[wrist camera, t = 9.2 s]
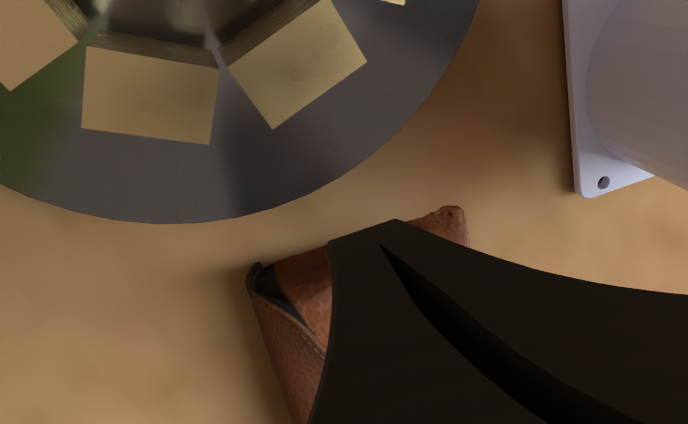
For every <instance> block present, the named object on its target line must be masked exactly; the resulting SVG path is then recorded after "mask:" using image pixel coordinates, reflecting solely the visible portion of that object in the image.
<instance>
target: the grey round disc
mask: <svg viewBox="0 0 688 424" xmlns="http://www.w3.org/2000/svg"><path fill="white" fill-rule="evenodd" d="M73 1H74V2H75V4H76V5H77V6H78V7H79V8H80V10H81V11H82V12H83V13H84V14H85V16H86V17H87V18H88V19H89V21H90V22H91V23H92V24H93V25H94V26H93V27H92V28H91V29H90V30H89V31H88V33H87V34H86V35H85V36H84V37H83V38H82V39H81V40H80V41H79V42H78V43H76V44H75V45H74V46H72V47H71V48H70V49H68V50H67V51H65V52H64V53H63V54H61V55H60V56H58V57H57V58H56V59H54V60H53V61H51V62H50V63H49V64H47V65H46V66H45V67H43V68H42V69H40V70H39V71H38V72H36V73H35V74H33V75H32V76H31V77H29V78H28V79H26V80H25V81H24V82H22V83H21V84H20V85H18V86H17V87H15V88H14V89H13V90H11V91H9V90H8V89H7V88H6V87H5V86H4V85H3V84H2V83H1V82H0V184H2V185H4V186H6V187H9V188H11V189H13V190H15V191H17V192H20V193H22V194H24V195H26V196H28V197H31V198H34V199H37V200H40V201H43V202H46V203H49V204H52V205H55V206H59V207H62V208H65V209H68V210H71V211H74V212H79V213H84V214H89V215H94V216H98V217H103V218H108V219H113V220H120V221H131V222H142V223H152V224H178V223H202V222H209V221H216V220H223V219H230V218H237V217H241V216H245V215H248V214H252V213H256V212H260V211H264V210H267V209H271V208H275V207H277V206H280V205H282V204H285V203H287V202H290V201H292V200H295V199H297V198H300V197H302V196H305V195H307V194H310V193H311V192H313V191H315V190H317V189H319V188H321V187H323V186H324V185H326V184H328V183H330V182H332V181H334V180H335V179H337V178H339V177H341V176H343V175H344V174H345V173H347V172H348V171H350V170H351V169H352V168H354V167H355V166H357V165H358V164H359V163H361V162H362V161H364V160H365V159H367V158H368V157H369V156H371V155H372V154H373V153H374V152H375V151H377V150H378V149H379V148H380V147H381V146H382V145H383V144H384V143H385V142H387V141H388V140H389V139H390V138H391V137H392V136H393V135H394V134H395V133H397V132H398V131H399V130H400V129H401V128H402V126H403V125H404V124H405V123H406V122H407V121H408V120H409V119H410V117H411V116H412V115H413V114H414V113H415V112H416V111H417V109H418V108H419V107H420V106H421V105H422V104H423V103H424V101H425V100H426V99H427V97H428V96H429V94H430V93H431V91H432V90H433V89H434V87H435V86H436V84H437V83H438V81H439V80H440V78H441V77H442V76H443V74H444V73H445V71H446V70H447V68H448V66H449V64H450V63H451V61H452V59H453V57H454V55H455V53H456V51H457V50H458V48H459V46H460V44H461V42H462V40H463V38H464V36H465V35H466V33H467V30H468V28H469V25H470V23H471V20H472V18H473V15H474V13H475V10H476V8H477V5H478V3H479V0H405V4H404V5H400V4H395V3H391V2H387V1H382V0H331V2H332V4H333V5H334V7H335V9H336V10H337V12H338V14H339V15H340V17H341V19H342V20H343V22H344V24H345V25H346V27H347V29H348V30H349V32H350V34H351V35H352V37H353V39H354V40H355V42H356V44H357V45H358V47H359V49H360V50H361V52H362V54H363V55H364V57H365V59H366V60H367V62H366V63H365V64H364V65H362V66H361V67H359V68H358V69H357V70H355V71H354V72H352V73H351V74H350V75H348V76H347V77H345V78H344V79H343V80H341V81H340V82H338V83H337V84H336V85H334V86H333V87H331V88H330V89H329V90H327V91H326V92H324V93H323V94H322V95H320V96H319V97H317V98H316V99H315V100H313V101H312V102H310V103H309V104H308V105H306V106H305V107H303V108H302V109H301V110H299V111H298V112H296V113H295V114H294V115H292V116H291V117H289V118H288V119H287V120H285V121H284V122H282V123H281V124H280V125H278V126H277V127H275V128H274V129H273V130H272V128H271V127H270V126H269V124H268V123H267V121H266V120H265V119H264V117H263V116H262V115H261V113H260V112H259V111H258V109H257V108H256V106H255V105H254V104H253V102H252V101H251V100H250V98H249V97H248V96H247V94H246V93H245V91H244V90H243V89H242V87H241V86H240V85H239V83H238V82H237V81H236V79H235V78H234V76H233V75H232V74H231V72H230V71H229V70H228V68H227V67H226V65H225V63H224V61H223V59H222V57H221V55H220V53H219V51H218V49H217V48H218V47H220V46H221V45H223V44H224V43H225V42H227V41H228V40H230V39H231V38H232V37H234V36H235V35H237V34H238V33H239V32H241V31H242V30H243V29H245V28H246V27H248V26H249V25H250V24H252V23H253V22H255V21H256V20H257V19H259V18H260V17H262V16H263V15H264V14H266V13H267V12H269V11H270V10H271V9H273V8H274V7H276V6H277V5H278V4H280V3H281V2H283V1H284V0H73ZM100 29H101V30H106V31H112V32H117V33H123V34H128V35H134V36H139V37H145V38H150V39H156V40H161V41H167V42H172V43H178V44H183V45H189V46H194V47H200V48H205V49H211V50H212V53H213V55H214V57H215V60H216V62H217V64H218V66H219V69H220V71H219V78H218V85H217V92H216V99H215V106H214V113H213V120H212V127H211V134H210V141H209V145H205V144H198V143H190V142H182V141H175V140H167V139H160V138H152V137H145V136H137V135H130V134H122V133H114V132H107V131H99V130H92V129H84V128H81V121H82V106H83V92H84V77H85V62H86V47H87V45H88V44H89V43H90V41H91V40H92V39H93V38H94V36H95V35H96V34H97V33H98V31H99V30H100Z"/></svg>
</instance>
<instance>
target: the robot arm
mask: <svg viewBox="0 0 688 424" xmlns="http://www.w3.org/2000/svg"><path fill="white" fill-rule="evenodd" d="M562 8H563V23H564V38H565V54H566V69H567V84H568V99H569V114H570V129H571V144H572V159H573V174H574V188H575V191H576V193H577V194H578V195H580V196H581V197H583V198H586V199H590V198H594V197H596V196H599V195H602V194H605V193H608V192H611V191H614V190H616V189H619V188H622V187H625V186H628V185H631V184H633V183H636V182H639V181H642V180H645V179H648V178H650V177H653V176H657V177H659V178H661V179H663V180H666V181H668V182H670V183H672V184H674V185H676V186H678V187H681V188H683V189H685V190H687V191H688V0H562ZM602 177H603V181H602V182H601V183H600V184H599V185H597V184H598V181H599V179H600V178H602ZM324 252H325V255H326V259H327V262H328V266H329V269H330V273H331V276H332V310H331V320H330V329H329V338H328V344H327V350H326V356H325V360H324V365H323V369H322V374H321V378H320V382H319V386H318V389H317V392H316V396H315V399H314V402H313V405H312V409H311V412H310V415H309V418H308V421H307V424H688V295H685V294H673V293H663V292H656V291H648V290H641V289H633V288H626V287H618V286H612V285H606V284H600V283H595V282H589V281H585V280H580V279H576V278H571V277H566V276H562V275H557V274H552V273H548V272H544V271H541V270H537V269H533V268H529V267H526V266H523V265H519V264H516V263H513V262H510V261H506V260H503V259H500V258H497V257H494V256H491V255H488V254H485V253H482V252H479V251H476V250H474V249H471V248H468V247H466V246H463V245H460V244H458V243H455V242H453V241H450V240H448V239H445V238H443V237H440V236H438V235H435V234H433V233H430V232H428V231H426V230H423V229H421V228H418V227H416V226H414V225H411V224H409V223H406V222H404V221H401V220H398V219H392V220H389V221H386V222H384V223H381V224H378V225H375V226H372V227H369V228H366V229H363V230H360V231H357V232H354V233H351V234H348V235H345V236H342V237H340V238H337V239H334V240H331V241H328V243H327V245H326V246H325V248H324Z"/></svg>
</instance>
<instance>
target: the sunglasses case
mask: <svg viewBox="0 0 688 424" xmlns="http://www.w3.org/2000/svg"><path fill="white" fill-rule="evenodd" d="M406 223H409V224H411V225H414V226H416V227H418V228H421V229H423V230H426V231H428V232H430V233H433V234H435V235H438V236H440V237H443V238H445V239H448V240H450V241H453V242H455V243H458V244H460V245H463V246H466V247H468V248H470V242H469V237H468V230H467V227H466V221H465V218H464V213H463V210H462V209H461V208H460V207H457V206H443V207H441V208H440V209H439V210H437V211H435V212H431V213H430V214H428V215H426V216H424V217H422V218H417V219H415V220H410V221H406ZM324 248H325V246H324V247H320V248H318V249H315V250H311V251H308V252H305V253H303V254H301V255H295V256H291V257H289V258H285V259H284V260H280V261H277V262H276V263H274V264H271V265H269V266H267V267H264V268H263V267H262V263H261V262H257V263H255V264H254V265H253V266H252V268H251V270H250V271H249V273H248V274H247V280H246V286H247V290H248V293H249V295H250V297H251V300H252V302H253V306H254V309H255V313H256V316H257V319H258V322H259V325H260V328H261V331H262V334H263V337H264V340H265V343H266V346H267V349H268V351H269V354H270V356H271V361H272V363H273V365H274V368H275V372H276V374H277V378H278V381H279V382H280V386H281V389H282V391H283V394H284V397H285V399H286V402H287V405H288V408H289V411H290V413H291V416H292V419H293V422H294V424H307V421H308V418H309V415H310V412H311V409H312V405H313V402H314V399H315V396H316V392H317V389H318V386H319V382H320V378H321V374H322V369H323V365H324V360H325V356H326V350H327V344H328V338H329V329H330V320H331V310H332V276H331V273H330V269H329V266H328V262H327V259H326V255H325V252H324Z"/></svg>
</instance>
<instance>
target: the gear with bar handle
mask: <svg viewBox="0 0 688 424" xmlns="http://www.w3.org/2000/svg"><path fill="white" fill-rule="evenodd" d="M382 1H387V2H391V3H395V4H400V5H404V4H405V0H382ZM93 26H94V25H93V24H92V23H91V22H90V21H89V19H88V18H87V17H86V16H85V14H84V13H83V12H82V11H81V10H80V8H79V7H78V6H77V5H76V4H75V2H74V1H73V0H0V82H1V83H2V84H3V85H4V86H5V87H6V88H7V89H8V90H9V91H11V90H13V89H14V88H15V87H17V86H18V85H20V84H21V83H22V82H24V81H25V80H26V79H28V78H29V77H31V76H32V75H33V74H35V73H36V72H38V71H39V70H40V69H42V68H43V67H45V66H46V65H47V64H49V63H50V62H51V61H53V60H54V59H56V58H57V57H58V56H60V55H61V54H63V53H64V52H65V51H67V50H68V49H70V48H71V47H72V46H74V45H75V44H76V43H78V42H79V41H80V40H81V39H82V38H83V37H84V36H85V35H86V34H87V33H88V31H89V30H90V29H91V28H92V27H93ZM217 49H218V51H219V53H220V55H221V57H222V59H223V61H224V63H225V65H226V67H227V68H228V70H229V71H230V72H231V74H232V75H233V76H234V78H235V79H236V81H237V82H238V83H239V85H240V86H241V87H242V89H243V90H244V91H245V93H246V94H247V96H248V97H249V98H250V100H251V101H252V102H253V104H254V105H255V106H256V108H257V109H258V111H259V112H260V113H261V115H262V116H263V117H264V119H265V120H266V121H267V123H268V124H269V126H270V127H271V128H272V130H273V129H274V128H275V127H277V126H278V125H280V124H281V123H282V122H284V121H285V120H287V119H288V118H289V117H291V116H292V115H294V114H295V113H296V112H298V111H299V110H301V109H302V108H303V107H305V106H306V105H308V104H309V103H310V102H312V101H313V100H315V99H316V98H317V97H319V96H320V95H322V94H323V93H324V92H326V91H327V90H329V89H330V88H331V87H333V86H334V85H336V84H337V83H338V82H340V81H341V80H343V79H344V78H345V77H347V76H348V75H350V74H351V73H352V72H354V71H355V70H357V69H358V68H359V67H361V66H362V65H364V64H365V63H366V62H367V60H366V59H365V57H364V55H363V54H362V52H361V50H360V49H359V47H358V45H357V44H356V42H355V40H354V39H353V37H352V35H351V34H350V32H349V30H348V29H347V27H346V25H345V24H344V22H343V20H342V19H341V17H340V15H339V14H338V12H337V10H336V9H335V7H334V5H333V4H332V2H331V0H284V1H283V2H281V3H280V4H278V5H277V6H276V7H274V8H273V9H271V10H270V11H269V12H267V13H266V14H264V15H263V16H262V17H260V18H259V19H257V20H256V21H255V22H253V23H252V24H250V25H249V26H248V27H246V28H245V29H243V30H242V31H241V32H239V33H238V34H237V35H235V36H234V37H232V38H231V39H230V40H228V41H227V42H225V43H224V44H223V45H221V46H220V47H218V48H217ZM219 71H220V69H219V66H218V64H217V62H216V60H215V57H214V55H213V53H212V50H211V49H205V48H200V47H194V46H189V45H183V44H178V43H172V42H167V41H161V40H156V39H150V38H145V37H139V36H134V35H128V34H123V33H117V32H112V31H106V30H101V29H100V30H99V31H98V33H97V34H96V35H95V36H94V38H93V39H92V40H91V41H90V43H89V44H88V45H87V47H86V62H85V77H84V92H83V106H82V121H81V128H84V129H92V130H99V131H107V132H114V133H122V134H130V135H137V136H145V137H152V138H160V139H167V140H175V141H182V142H190V143H198V144H205V145H209V141H210V134H211V127H212V120H213V113H214V106H215V99H216V92H217V85H218V78H219Z"/></svg>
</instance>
